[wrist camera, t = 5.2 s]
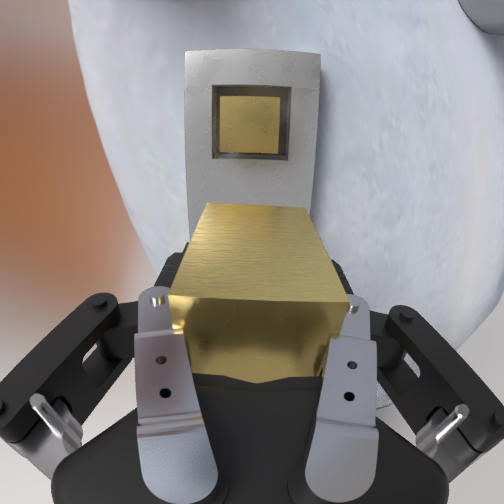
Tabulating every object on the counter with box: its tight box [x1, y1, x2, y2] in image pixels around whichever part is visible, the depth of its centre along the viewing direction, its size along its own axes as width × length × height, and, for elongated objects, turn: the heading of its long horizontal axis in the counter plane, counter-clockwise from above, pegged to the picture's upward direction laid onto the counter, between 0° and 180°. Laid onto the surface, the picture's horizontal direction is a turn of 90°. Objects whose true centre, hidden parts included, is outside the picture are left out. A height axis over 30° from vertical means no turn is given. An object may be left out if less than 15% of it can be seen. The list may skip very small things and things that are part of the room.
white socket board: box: [184, 49, 321, 240], centre depth 28 cm, size 28×12×3 cm, turn 179°
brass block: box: [168, 203, 350, 383], centre depth 11 cm, size 4×4×7 cm
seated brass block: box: [220, 96, 280, 154], centre depth 23 cm, size 4×4×7 cm
